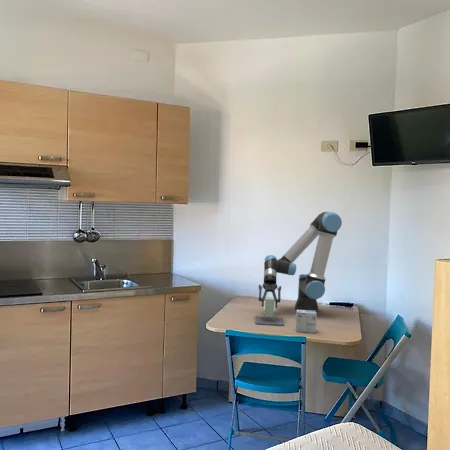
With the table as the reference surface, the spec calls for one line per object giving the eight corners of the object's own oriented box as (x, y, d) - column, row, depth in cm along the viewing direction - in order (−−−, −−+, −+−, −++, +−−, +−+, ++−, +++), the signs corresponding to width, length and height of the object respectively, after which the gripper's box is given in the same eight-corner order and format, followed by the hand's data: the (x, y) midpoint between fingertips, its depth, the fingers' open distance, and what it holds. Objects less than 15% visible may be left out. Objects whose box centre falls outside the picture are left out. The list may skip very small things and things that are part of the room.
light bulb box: (315, 329, 254) (316, 310, 253) (316, 333, 247) (317, 313, 246) (295, 328, 255) (296, 309, 254) (295, 331, 248) (296, 311, 247)
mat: (282, 319, 274) (282, 317, 274) (284, 326, 258) (284, 324, 258) (255, 317, 275) (255, 316, 275) (255, 324, 259) (255, 323, 259)
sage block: (273, 315, 269) (274, 298, 269) (273, 317, 264) (274, 299, 264) (264, 314, 269) (265, 297, 269) (264, 316, 264) (265, 299, 264)
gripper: (284, 282, 281) (284, 316, 266) (254, 280, 282) (253, 313, 267) (285, 275, 276) (285, 309, 260) (255, 273, 277) (253, 306, 261)
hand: (269, 311), depth 263 cm, fingers closed on sage block, 5 cm apart
